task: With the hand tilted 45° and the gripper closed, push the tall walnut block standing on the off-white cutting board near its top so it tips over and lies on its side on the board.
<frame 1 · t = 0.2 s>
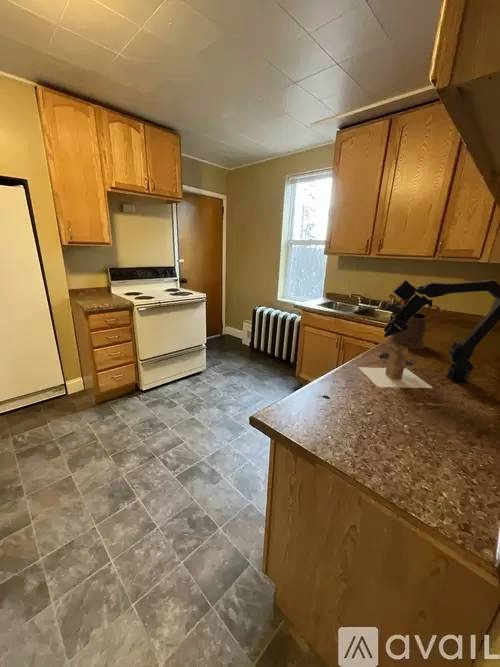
hand: (384, 333, 125), 15 cm above the counter, tool tilted 35°, fingers open, 9 cm apart
phone: (396, 361, 136), on the counter
walnut block: (393, 376, 116), point 1 cm above the counter, touching cutting board
cutting board: (392, 378, 116), on the counter
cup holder: (409, 345, 160), on the counter
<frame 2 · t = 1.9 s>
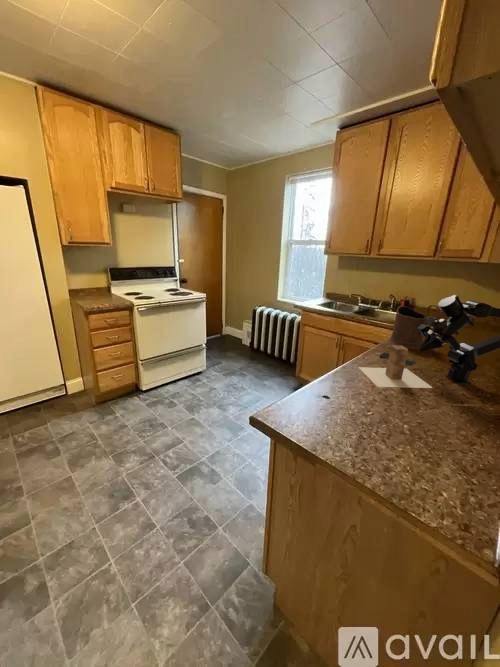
hand: (419, 350, 113), 13 cm above the counter, tool tilted 45°, fingers closed
nothing on the counter moved.
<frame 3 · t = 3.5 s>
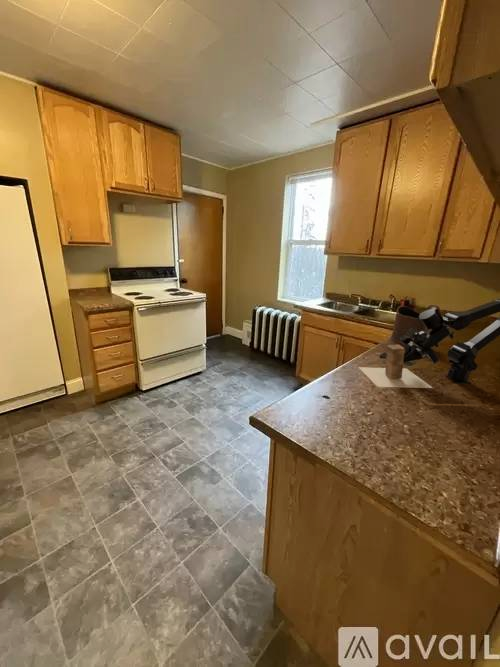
hand: (400, 361, 114), 7 cm above the counter, tool tilted 45°, fingers closed, pressing on walnut block
walnut block: (393, 376, 116), point 1 cm above the counter, tilted 7°, touching cutting board, gripper
everything else where it was.
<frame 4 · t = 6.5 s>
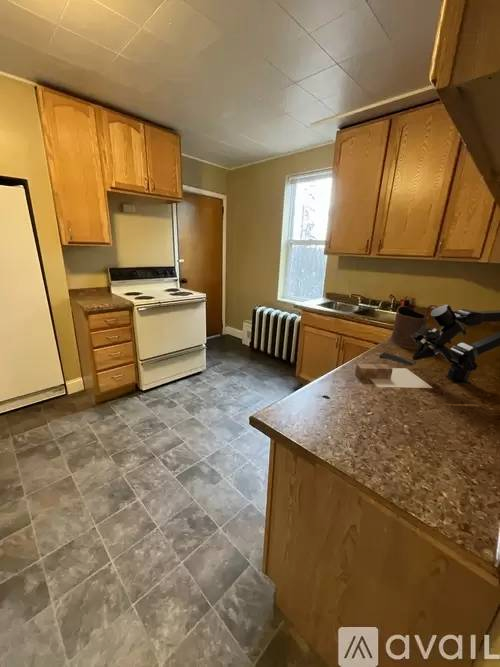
hand: (413, 359, 114), 9 cm above the counter, tool tilted 45°, fingers closed
walnut block: (388, 371, 115), point 3 cm above the counter, tilted 90°, touching cutting board
everything else where it was.
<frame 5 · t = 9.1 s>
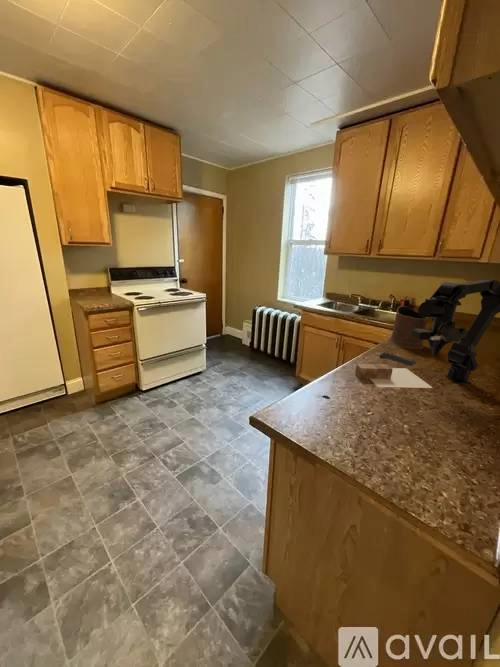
hand: (434, 355, 110), 12 cm above the counter, tool pointing down, fingers closed
nothing on the counter moved.
at the end: walnut block tilted 90°; walnut block inside the target area on the cutting board (0.7 cm from its centre), point 2.8 cm above the cutting board's base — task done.
